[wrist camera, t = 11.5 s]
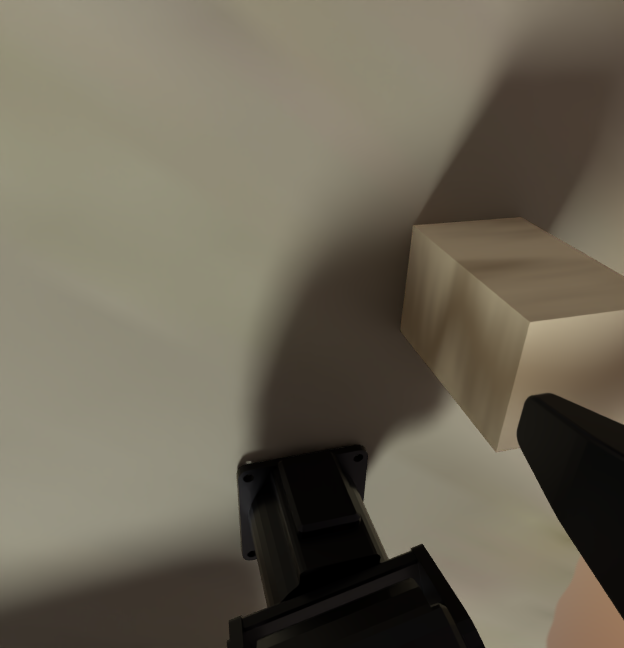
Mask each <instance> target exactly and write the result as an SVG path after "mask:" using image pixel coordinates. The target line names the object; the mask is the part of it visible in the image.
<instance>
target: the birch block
mask: <svg viewBox="0 0 624 648" xmlns="http://www.w3.org/2000/svg"><path fill="white" fill-rule="evenodd" d="M400 331H401V333H402V334H403V335H404V336H405V338H406V339H407V340H408V342H409V343H410V344H411V345H412V347H413V348H414V349H415V350H416V352H417V353H418V354H419V355H420V357H421V358H422V359H423V361H424V362H425V363H426V364H427V366H428V367H429V368H430V369H431V371H432V372H433V373H434V374H435V376H436V377H437V378H438V380H439V381H440V382H441V383H442V385H443V386H444V387H445V388H446V390H447V391H448V392H449V393H450V395H451V396H452V397H453V399H454V400H455V401H456V402H457V404H458V405H459V406H460V407H461V409H462V410H463V411H464V412H465V414H466V415H467V416H468V418H469V419H470V420H471V421H472V423H473V424H474V425H475V426H476V428H477V429H478V430H479V432H480V433H481V434H482V435H483V437H484V438H485V439H486V440H487V442H488V443H489V444H490V445H491V447H492V448H493V449H494V451H495V452H501V451H506V450H511V449H517V448H520V446H519V444H518V441H517V436H516V431H517V427H518V423H519V420H520V416H521V412H522V409H523V405H524V402H525V400H526V399H527V398H528V397H529V396H531V395H536V394H542V393H553V394H555V395H558V396H560V397H562V398H564V399H567V400H569V401H571V402H573V403H576V404H578V405H580V406H582V407H585V408H587V409H589V410H591V411H594V412H596V413H598V414H601V415H603V416H605V417H607V418H610V419H612V420H614V421H616V422H619V423H621V424H623V422H624V276H622V275H621V274H619V273H617V272H615V271H614V270H612V269H610V268H608V267H607V266H605V265H603V264H601V263H600V262H598V261H596V260H594V259H593V258H591V257H589V256H588V255H586V254H584V253H582V252H581V251H579V250H577V249H575V248H574V247H572V246H570V245H568V244H567V243H565V242H563V241H562V240H560V239H558V238H556V237H555V236H553V235H551V234H549V233H548V232H546V231H544V230H542V229H541V228H539V227H537V226H535V225H534V224H532V223H530V222H529V221H527V220H525V219H523V218H522V217H514V218H501V219H488V220H475V221H462V222H450V223H437V224H424V225H413V230H412V238H411V247H410V255H409V263H408V271H407V279H406V287H405V295H404V303H403V311H402V319H401V327H400Z"/></svg>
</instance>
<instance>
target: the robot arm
mask: <svg viewBox="0 0 624 648" xmlns="http://www.w3.org/2000/svg"><path fill="white" fill-rule="evenodd" d="M516 436H517V441H518V444H519V446H520V448H521V450H522V452H523V454H524V456H525V458H526V460H527V462H528V463H529V465H530V467H531V469H532V471H533V473H534V475H535V477H536V479H537V481H538V482H539V484H540V486H541V488H542V490H543V492H544V494H545V496H546V498H547V500H548V502H549V503H550V505H551V507H552V509H553V511H554V513H555V514H556V516H557V518H558V520H559V521H560V523H561V525H562V526H563V528H564V529H565V531H566V533H567V534H568V536H569V537H570V539H571V540H572V542H573V543H574V545H575V546H576V548H577V549H578V551H579V552H580V554H581V555H582V557H583V558H584V560H585V562H586V563H587V564H588V566H589V568H590V569H591V570H592V572H593V574H594V575H595V577H596V578H597V580H598V581H599V583H600V584H601V586H602V587H603V589H604V591H605V592H606V594H607V595H608V597H609V598H610V599H611V601H612V602H613V604H614V606H615V607H616V609H617V610H618V612H619V613H620V615H621V616H622V618H623V619H624V425H623V424H621V423H619V422H616V421H614V420H612V419H610V418H607V417H605V416H603V415H601V414H598V413H596V412H594V411H591V410H589V409H587V408H585V407H582V406H580V405H578V404H576V403H573V402H571V401H569V400H567V399H564V398H562V397H560V396H558V395H555V394H553V393H542V394H536V395H531V396H529V397H528V398H527V399H526V400H525V402H524V405H523V409H522V412H521V416H520V420H519V423H518V427H517V431H516ZM358 454H359V455H358ZM356 455H357V456H356ZM367 460H368V454H367V452H366V450H365V448H364V447H363V446H362V445H353V446H348V447H342V448H337V449H331V450H325V451H320V452H314V453H309V454H303V455H297V456H292V457H286V458H281V459H275V460H269V461H264V462H258V463H253V464H247V465H244V466H242V467H240V468H239V469H238V471H237V488H238V503H239V519H240V535H241V550H242V555H243V558H244V559H245V560H255V559H257V561H258V566H259V570H260V575H261V580H262V584H263V589H264V594H265V598H266V603H267V607H268V608H265V609H263V610H260V611H258V612H255V613H253V614H250V615H248V616H245V617H242V616H239V617H237V618H234V619H231V620H229V634H230V640H227V648H485V646H484V644H483V642H482V640H481V638H480V636H479V634H478V631H477V629H476V628H475V626H474V624H473V622H472V620H471V618H470V617H469V615H468V613H467V612H466V610H465V608H464V607H463V605H462V604H461V602H460V601H459V599H458V598H457V596H456V594H455V593H454V591H453V590H452V588H451V587H450V585H449V584H448V582H447V581H446V579H445V578H444V576H443V574H442V573H441V571H440V570H439V568H438V567H437V565H436V564H435V562H434V561H433V559H432V558H431V556H430V555H429V553H428V551H427V550H426V548H425V547H424V545H423V544H420V545H418V546H415V547H413V548H411V551H409V552H406V553H404V554H401V555H399V556H396V557H394V558H391V559H388V557H387V554H386V552H385V550H384V548H383V545H382V543H381V541H380V539H379V537H378V534H377V532H376V530H375V528H374V525H373V523H372V521H371V519H370V517H369V514H368V512H367V510H366V508H365V505H364V503H363V499H364V489H365V480H366V470H367ZM248 474H251V475H249V476H245V475H248Z"/></svg>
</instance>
